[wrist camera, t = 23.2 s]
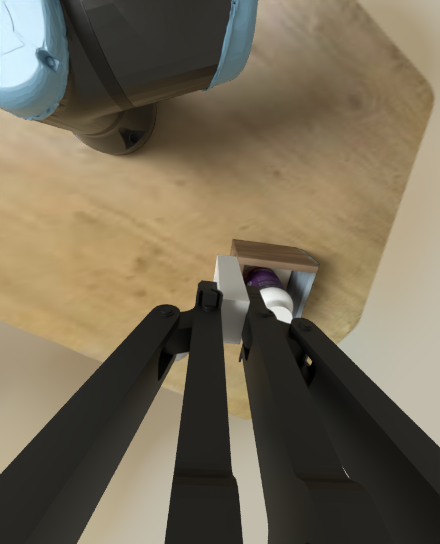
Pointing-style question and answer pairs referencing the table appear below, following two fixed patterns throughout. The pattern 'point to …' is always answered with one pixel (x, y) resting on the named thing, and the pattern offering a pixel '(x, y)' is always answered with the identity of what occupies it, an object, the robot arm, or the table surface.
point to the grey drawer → (294, 285)
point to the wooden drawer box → (271, 256)
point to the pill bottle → (271, 291)
